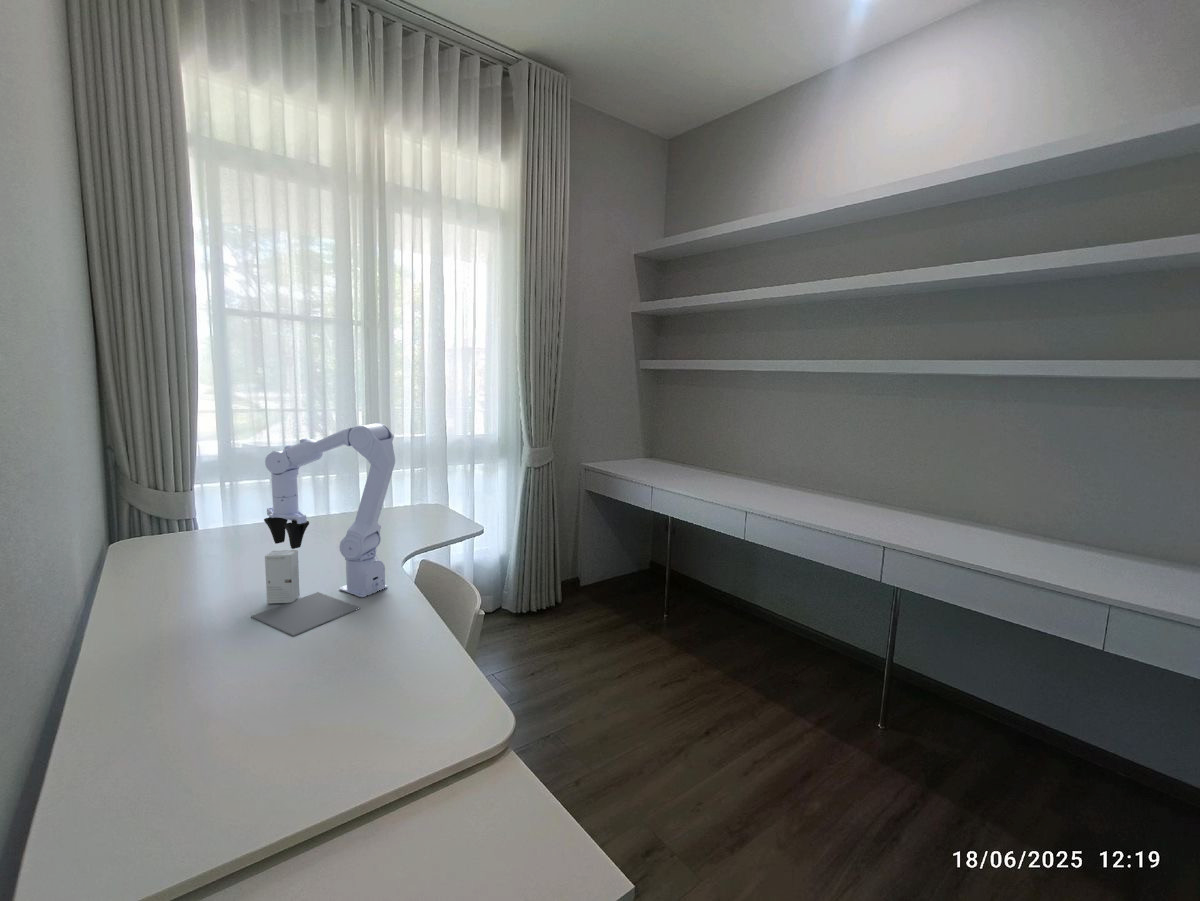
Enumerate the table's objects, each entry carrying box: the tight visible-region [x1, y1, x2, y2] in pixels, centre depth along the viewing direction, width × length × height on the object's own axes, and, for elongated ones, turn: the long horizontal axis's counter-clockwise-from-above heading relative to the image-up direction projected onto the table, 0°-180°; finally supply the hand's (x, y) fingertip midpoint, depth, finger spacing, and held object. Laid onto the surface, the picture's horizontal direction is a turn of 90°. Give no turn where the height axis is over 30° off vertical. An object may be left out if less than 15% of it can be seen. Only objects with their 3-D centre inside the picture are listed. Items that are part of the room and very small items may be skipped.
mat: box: [250, 591, 360, 637], centre depth 120 cm, size 16×16×1 cm
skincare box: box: [264, 549, 301, 604], centre depth 125 cm, size 6×4×12 cm
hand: (287, 545), depth 136 cm, fingers open, 7 cm apart
